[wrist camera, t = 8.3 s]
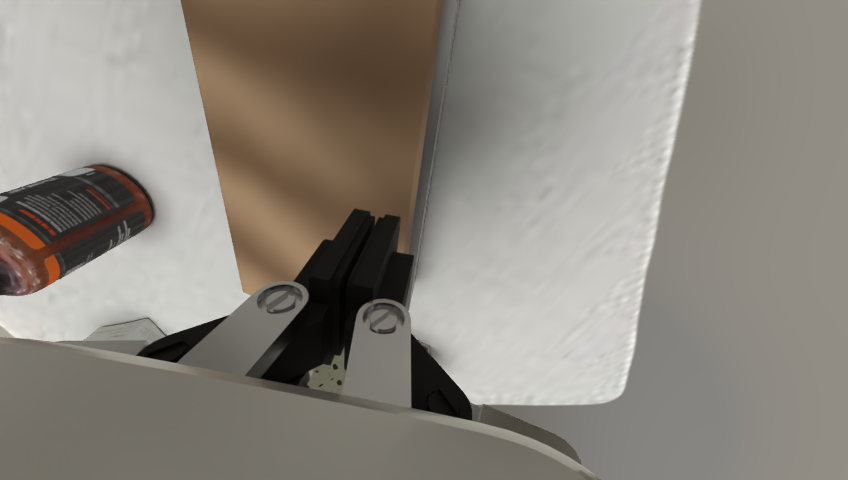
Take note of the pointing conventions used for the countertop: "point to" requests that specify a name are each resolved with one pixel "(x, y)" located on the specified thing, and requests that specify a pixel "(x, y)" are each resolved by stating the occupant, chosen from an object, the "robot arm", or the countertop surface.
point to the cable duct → (432, 129)
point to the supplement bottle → (65, 225)
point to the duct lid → (312, 118)
